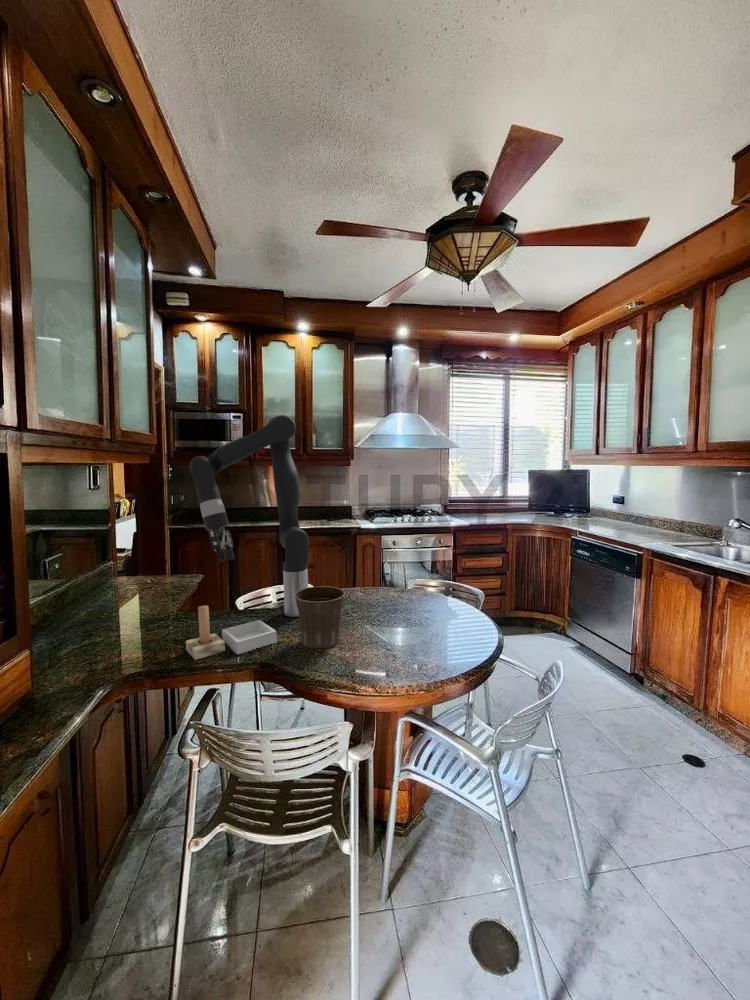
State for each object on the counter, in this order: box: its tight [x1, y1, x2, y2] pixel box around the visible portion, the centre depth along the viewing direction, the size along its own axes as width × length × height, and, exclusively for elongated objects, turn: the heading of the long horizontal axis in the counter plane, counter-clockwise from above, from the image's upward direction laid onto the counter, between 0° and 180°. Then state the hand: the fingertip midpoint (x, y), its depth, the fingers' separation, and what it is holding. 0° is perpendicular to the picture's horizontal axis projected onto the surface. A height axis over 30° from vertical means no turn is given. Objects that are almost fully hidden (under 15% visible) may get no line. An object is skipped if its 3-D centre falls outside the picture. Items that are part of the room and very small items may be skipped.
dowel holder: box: [185, 633, 226, 661], centre depth 134 cm, size 9×9×3 cm
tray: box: [221, 619, 278, 656], centre depth 140 cm, size 13×13×4 cm
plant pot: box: [294, 585, 346, 650], centre depth 139 cm, size 16×16×16 cm
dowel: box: [197, 605, 211, 645], centre depth 134 cm, size 3×3×14 cm
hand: (227, 560), depth 145 cm, fingers open, 8 cm apart
